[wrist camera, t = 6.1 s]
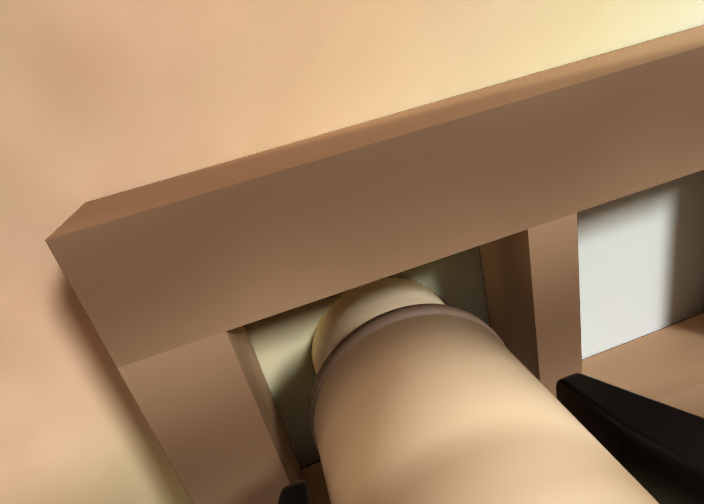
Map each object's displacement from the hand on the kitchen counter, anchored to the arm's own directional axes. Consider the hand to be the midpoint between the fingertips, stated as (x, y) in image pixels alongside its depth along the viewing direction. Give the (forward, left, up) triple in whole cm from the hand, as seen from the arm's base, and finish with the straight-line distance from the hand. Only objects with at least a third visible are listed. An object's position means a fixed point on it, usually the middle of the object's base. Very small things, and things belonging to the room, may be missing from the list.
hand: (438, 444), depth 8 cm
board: (-1, -3, -3) cm, 5 cm away
